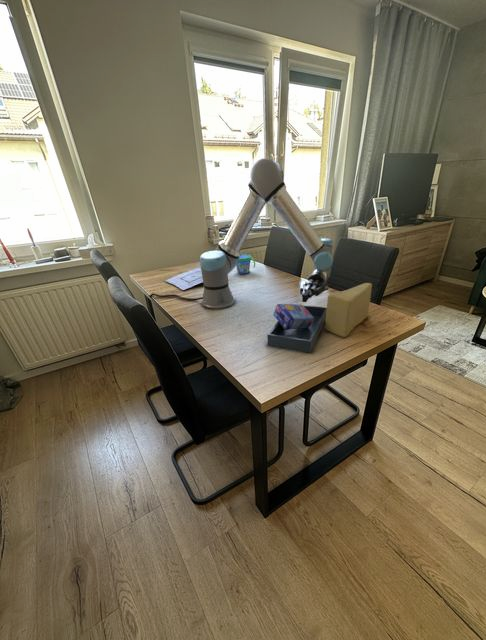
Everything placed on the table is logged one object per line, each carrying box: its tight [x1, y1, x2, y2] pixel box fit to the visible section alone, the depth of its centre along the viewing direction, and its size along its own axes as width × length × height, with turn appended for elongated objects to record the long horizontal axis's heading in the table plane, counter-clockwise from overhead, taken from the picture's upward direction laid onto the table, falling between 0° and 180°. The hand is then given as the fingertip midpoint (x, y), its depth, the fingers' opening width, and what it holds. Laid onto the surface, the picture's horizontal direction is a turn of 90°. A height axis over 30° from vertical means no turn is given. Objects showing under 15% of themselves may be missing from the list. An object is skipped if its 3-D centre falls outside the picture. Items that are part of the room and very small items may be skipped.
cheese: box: [324, 282, 373, 338], centre depth 107 cm, size 22×10×15 cm, turn 131°
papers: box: [165, 266, 203, 291], centre depth 167 cm, size 24×30×4 cm
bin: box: [266, 304, 327, 354], centre depth 108 cm, size 16×30×4 cm, turn 158°
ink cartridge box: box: [273, 303, 315, 330], centre depth 106 cm, size 10×6×14 cm
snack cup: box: [235, 254, 256, 275], centre depth 175 cm, size 16×10×10 cm
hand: (304, 298), depth 106 cm, fingers closed
